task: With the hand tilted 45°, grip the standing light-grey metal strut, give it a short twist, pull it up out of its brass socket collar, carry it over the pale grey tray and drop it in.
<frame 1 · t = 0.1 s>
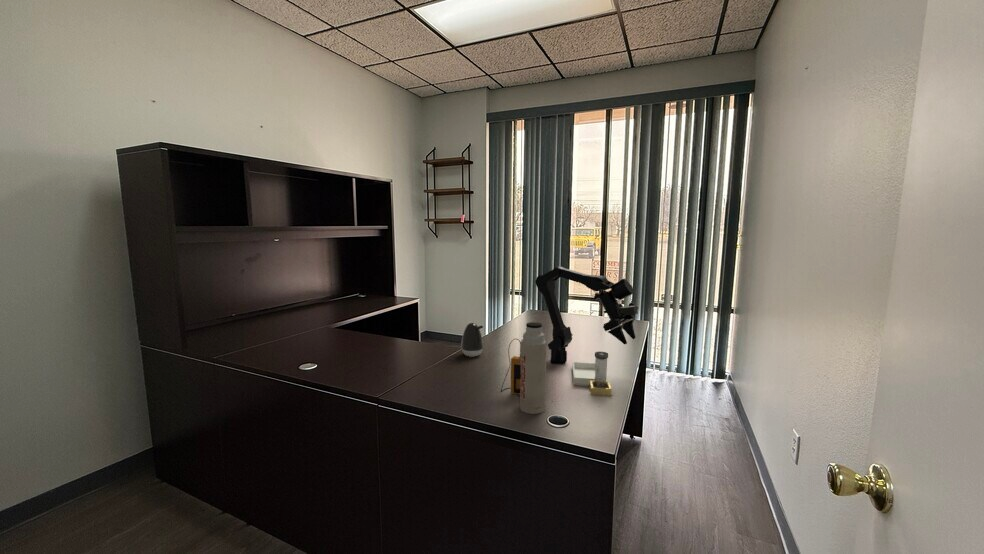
hand: (630, 341, 151), 15 cm above the table, tool tilted 30°, fingers open, 9 cm apart
tray: (586, 377, 154), on the table
thermos bottle: (532, 408, 126), on the table
socket collar: (600, 391, 140), on the table
strut: (600, 372, 139), in the socket collar
pump dispenser: (472, 355, 181), on the table
multimeter: (523, 390, 141), on the table
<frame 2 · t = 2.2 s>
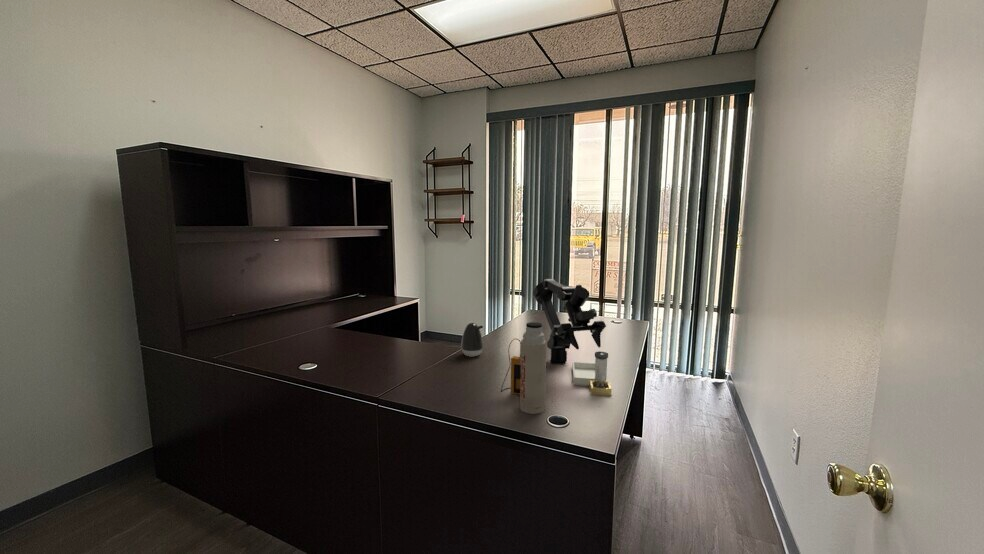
hand: (589, 348, 147), 13 cm above the table, tool tilted 45°, fingers open, 9 cm apart
nothing on the table moved.
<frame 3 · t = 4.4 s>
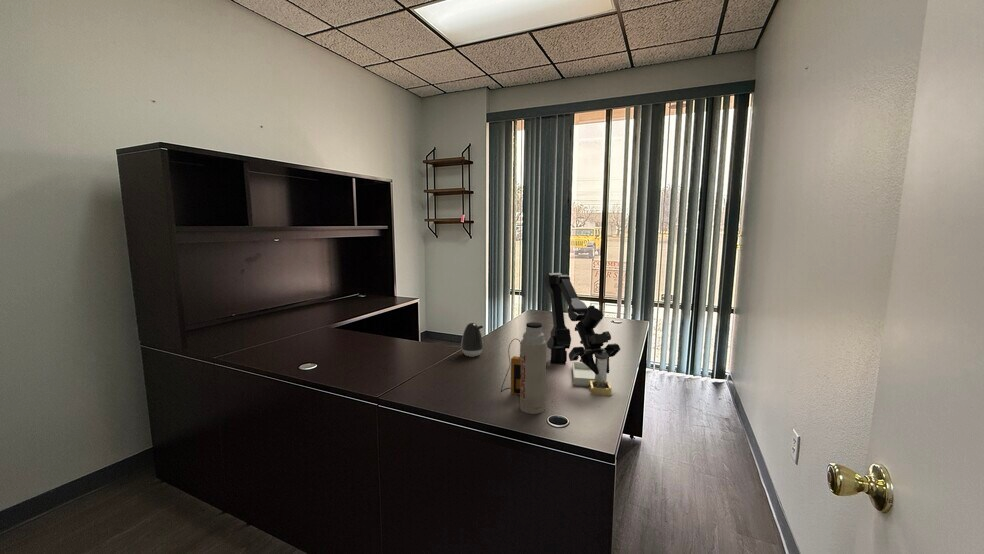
hand: (603, 373, 138), 7 cm above the table, tool tilted 45°, fingers closed on strut, 4 cm apart
strut: (600, 372, 139), in the socket collar, touching gripper
everything else where it was.
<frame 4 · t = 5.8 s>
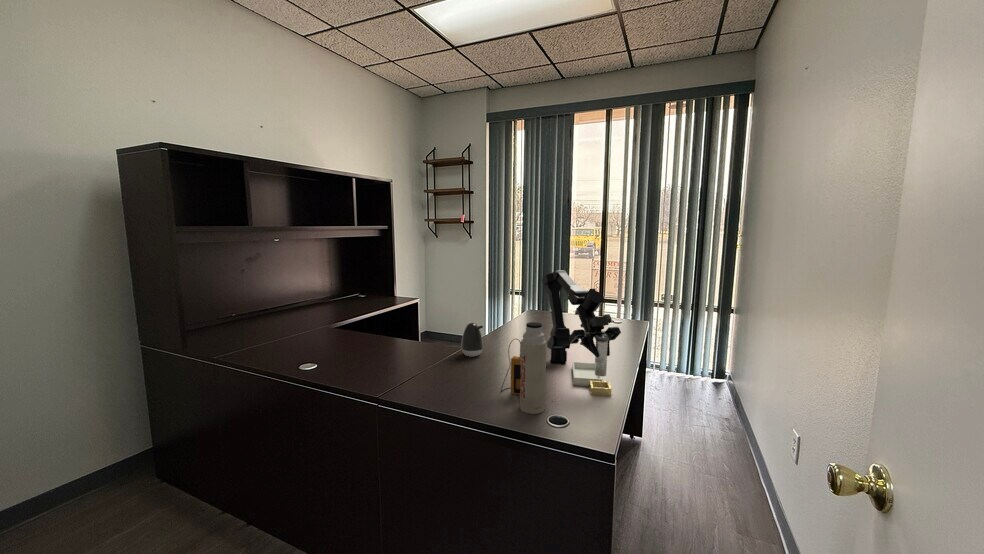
hand: (603, 356, 137), 13 cm above the table, tool tilted 45°, fingers closed on strut, 4 cm apart
strut: (601, 355, 139), point 13 cm above the table, touching gripper
everything else where it was.
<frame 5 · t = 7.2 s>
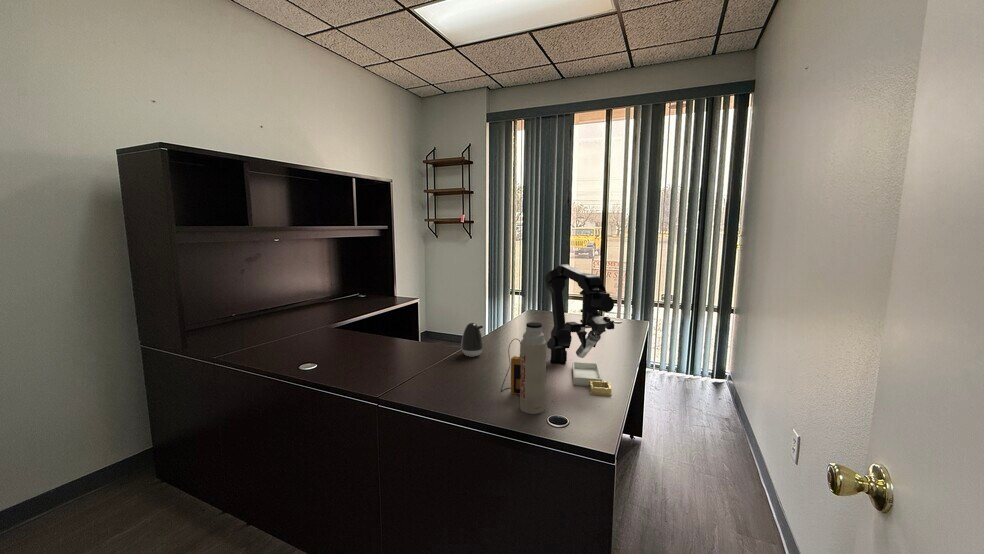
hand: (588, 347, 151), 12 cm above the table, tool pointing down, fingers closed on strut, 4 cm apart
strut: (587, 344, 152), point 13 cm above the table, tilted 44°, touching gripper
everything else where it was.
when the fingers open (6 cm above the table, at t = 8.7 s): strut drops 3 cm and tips over, resting on tray.
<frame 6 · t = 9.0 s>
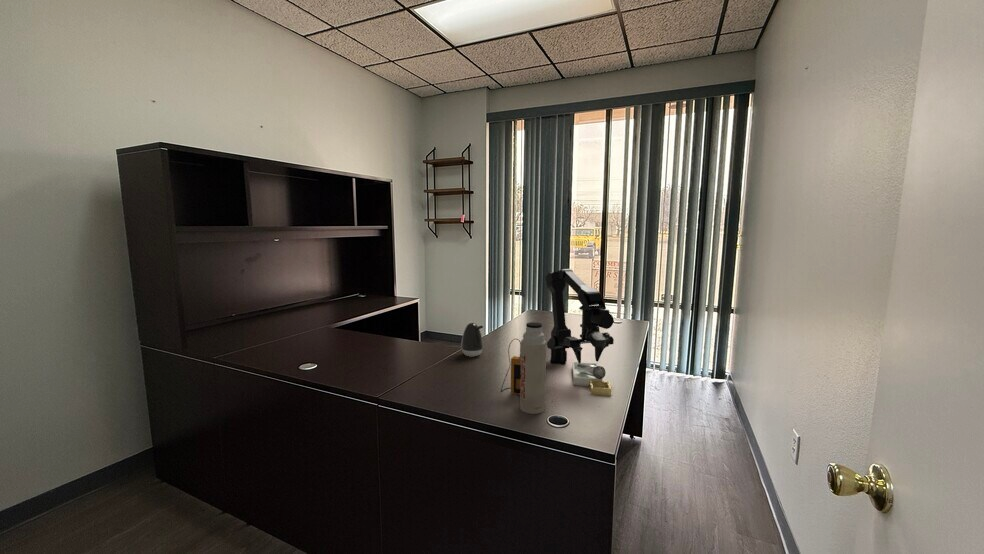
hand: (588, 362, 152), 6 cm above the table, tool pointing down, fingers open, 7 cm apart
strut: (590, 370, 150), resting on tray, tilted 78°
everything else where it was.
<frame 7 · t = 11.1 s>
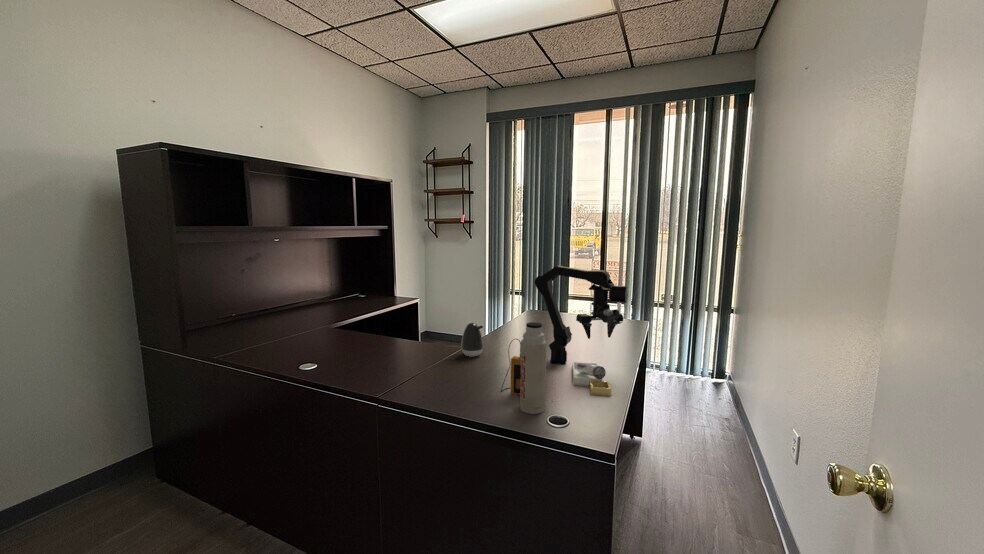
hand: (599, 338, 163), 13 cm above the table, tool pointing down, fingers open, 9 cm apart
nothing on the table moved.
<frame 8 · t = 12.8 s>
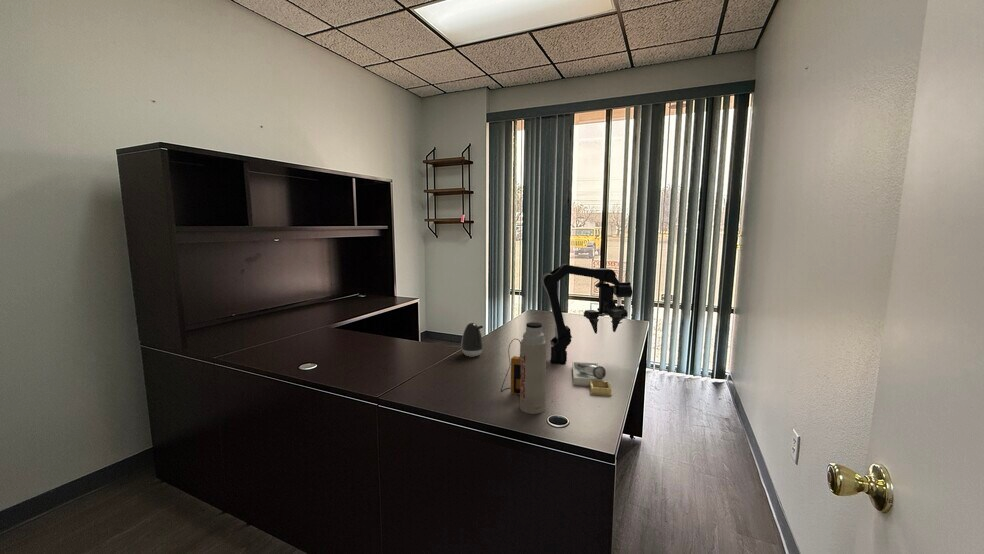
hand: (605, 332, 171), 13 cm above the table, tool pointing down, fingers open, 9 cm apart
nothing on the table moved.
at the end: strut inside the target area on the tray (3.9 cm from its centre), point 4.0 cm above the tray's base; the gripper is holding nothing; strut moved 17.6 cm from its start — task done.
